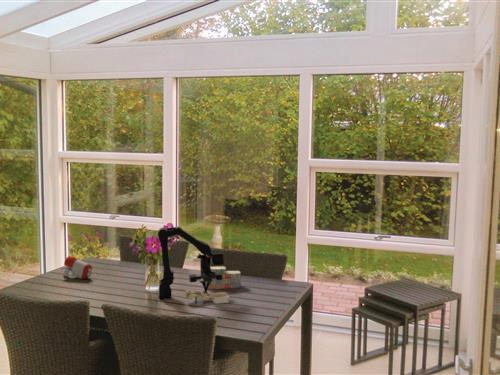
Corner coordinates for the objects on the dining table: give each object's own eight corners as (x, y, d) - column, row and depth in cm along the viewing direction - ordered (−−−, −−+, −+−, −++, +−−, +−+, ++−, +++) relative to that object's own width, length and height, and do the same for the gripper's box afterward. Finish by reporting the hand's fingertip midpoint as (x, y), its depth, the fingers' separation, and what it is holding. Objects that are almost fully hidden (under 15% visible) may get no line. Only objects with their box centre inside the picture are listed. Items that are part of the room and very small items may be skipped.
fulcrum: (195, 305, 282) (195, 297, 281) (192, 299, 291) (192, 292, 290) (204, 304, 283) (204, 296, 283) (200, 299, 292) (201, 291, 291)
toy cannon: (85, 287, 323) (89, 266, 320) (60, 275, 329) (64, 255, 326) (91, 284, 328) (95, 264, 326) (66, 273, 335) (70, 253, 332)
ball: (224, 299, 289) (219, 302, 288) (223, 297, 293) (217, 300, 292) (222, 294, 288) (216, 297, 288) (220, 292, 292) (215, 295, 291)
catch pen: (214, 303, 285) (214, 297, 285) (211, 298, 293) (211, 293, 293) (229, 302, 287) (229, 296, 287) (225, 297, 296) (225, 292, 295)
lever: (186, 297, 282) (187, 292, 281) (182, 290, 295) (183, 285, 294) (211, 301, 286) (212, 295, 286) (206, 293, 299) (207, 288, 299)
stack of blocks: (238, 285, 321) (239, 265, 320) (240, 288, 315) (241, 268, 314) (204, 286, 317) (204, 266, 316) (205, 289, 311) (205, 269, 310)
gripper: (191, 270, 285) (192, 297, 287) (224, 267, 290) (224, 294, 292) (188, 265, 296) (188, 291, 297) (220, 262, 301) (220, 289, 302)
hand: (205, 292), depth 297 cm, fingers closed, pressing on lever
